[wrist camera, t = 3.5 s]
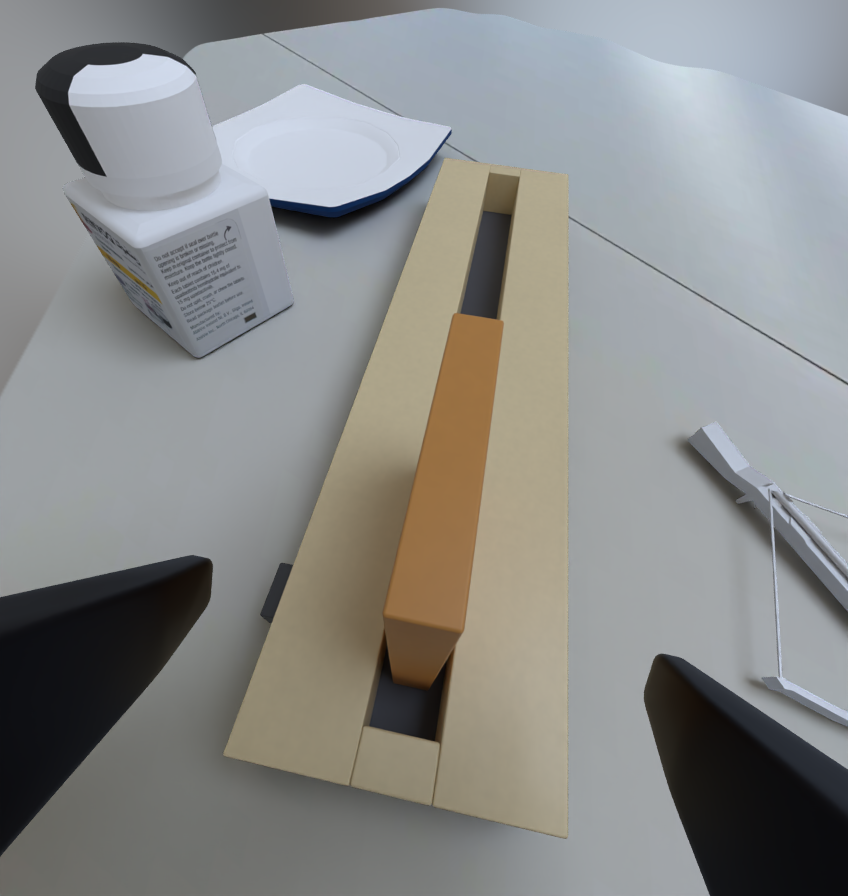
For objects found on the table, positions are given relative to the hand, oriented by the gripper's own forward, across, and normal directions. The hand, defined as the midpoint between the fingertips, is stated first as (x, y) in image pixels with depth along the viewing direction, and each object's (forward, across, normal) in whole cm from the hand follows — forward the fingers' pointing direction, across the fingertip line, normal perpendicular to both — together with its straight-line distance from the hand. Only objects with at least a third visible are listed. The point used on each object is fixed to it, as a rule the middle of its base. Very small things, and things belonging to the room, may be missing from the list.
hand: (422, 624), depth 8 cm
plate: (+37, +18, -21) cm, 46 cm away
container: (+21, +18, -6) cm, 29 cm away
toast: (+9, 0, +4) cm, 10 cm away
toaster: (+19, 0, -4) cm, 20 cm away
